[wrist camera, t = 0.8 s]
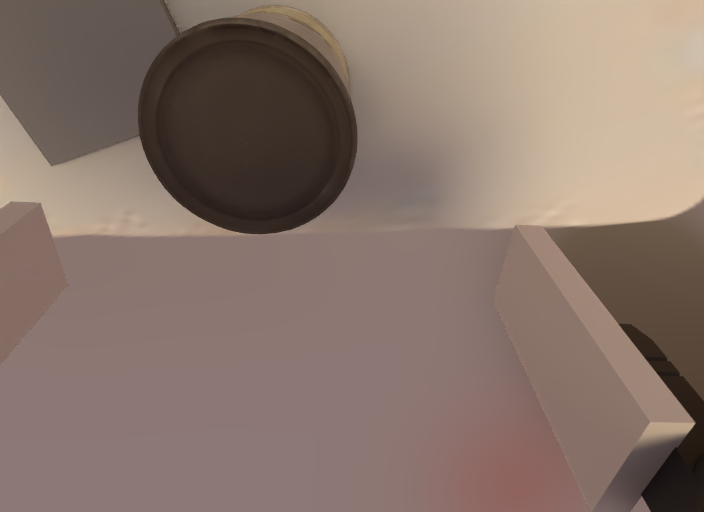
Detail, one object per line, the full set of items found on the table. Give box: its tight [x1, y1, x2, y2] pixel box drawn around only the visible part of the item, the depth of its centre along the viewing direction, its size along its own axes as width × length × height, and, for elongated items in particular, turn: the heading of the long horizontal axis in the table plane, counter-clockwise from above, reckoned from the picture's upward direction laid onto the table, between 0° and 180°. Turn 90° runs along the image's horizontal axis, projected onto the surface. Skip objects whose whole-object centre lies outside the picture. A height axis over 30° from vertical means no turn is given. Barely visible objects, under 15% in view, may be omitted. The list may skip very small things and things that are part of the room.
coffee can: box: [138, 6, 357, 234], centre depth 27 cm, size 10×10×14 cm
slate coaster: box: [0, 0, 179, 166], centre depth 31 cm, size 14×14×1 cm
